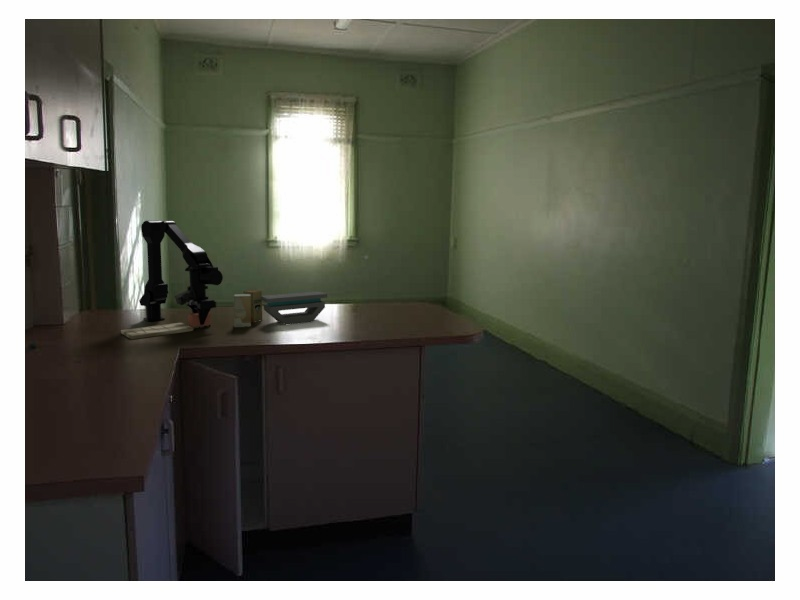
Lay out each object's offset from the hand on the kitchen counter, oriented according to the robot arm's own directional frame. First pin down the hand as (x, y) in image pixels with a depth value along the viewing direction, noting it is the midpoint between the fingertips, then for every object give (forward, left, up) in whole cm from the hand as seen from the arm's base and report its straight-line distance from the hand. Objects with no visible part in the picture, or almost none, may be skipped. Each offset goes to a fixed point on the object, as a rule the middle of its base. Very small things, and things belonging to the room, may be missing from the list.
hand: (199, 323), depth 234 cm
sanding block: (0, 0, -1) cm, 1 cm away
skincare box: (+10, +13, -1) cm, 16 cm away
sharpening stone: (+15, +33, -1) cm, 36 cm away
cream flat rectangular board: (0, -16, -1) cm, 16 cm away
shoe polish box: (+3, +21, -1) cm, 21 cm away
